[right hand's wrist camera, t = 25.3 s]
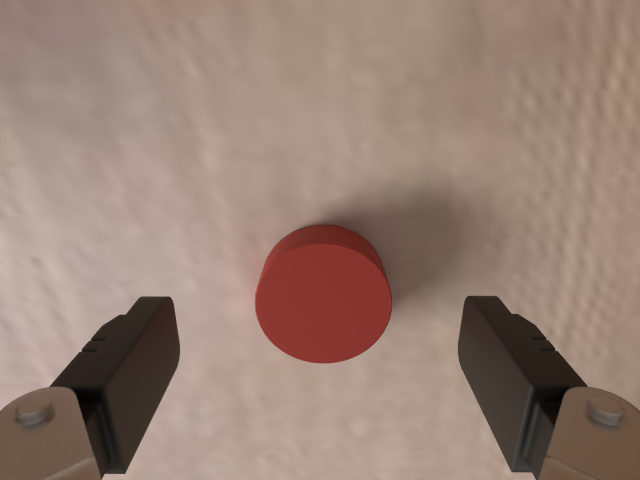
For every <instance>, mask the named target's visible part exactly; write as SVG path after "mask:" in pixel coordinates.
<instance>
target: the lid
mask: <svg viewBox="0 0 640 480" xmlns="http://www.w3.org/2000/svg"><path fill="white" fill-rule="evenodd" d="M255 311H256V315H257V319H258V322H259V324H260V327H261V328H262V330H263V332H264V333H265V335H266V336H267V337H268V339H269V340H270V341H271V342H272V343H273V344H274V345H275V346H276V347H278V348H279V349H280V350H282V351H283V352H285V353H286V354H288V355H290V356H292V357H295V358H297V359H300V360H303V361H308V362H313V363H334V362H340V361H344V360H347V359H350V358H353V357H355V356H357V355H359V354H361V353H363V352H364V351H366V350H367V349H369V348H370V347H371V346H372V345H373V344H374V343H375V342H376V341H377V340H378V339H379V338H380V336H381V335H382V334H383V332H384V331H385V329H386V327H387V325H388V322H389V319H390V316H391V311H392V296H391V291H390V287H389V283H388V280H387V277H386V274H385V270H384V267H383V264H382V262H381V259H380V257H379V255H378V254H377V252H376V251H375V249H374V248H373V247H372V246H371V245H370V244H369V243H368V242H367V241H366V240H365V239H364V238H362V237H361V236H360V235H358V234H356V233H354V232H352V231H350V230H348V229H345V228H342V227H337V226H331V225H316V226H309V227H305V228H302V229H299V230H297V231H294V232H293V233H291V234H289V235H287V236H286V237H285V238H283V239H282V240H281V241H280V242H279V243H278V244H277V245H276V246H275V247H274V248H273V250H272V251H271V252H270V254H269V256H268V258H267V260H266V262H265V265H264V268H263V271H262V274H261V277H260V280H259V283H258V286H257V290H256V294H255Z"/></svg>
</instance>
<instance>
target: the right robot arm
mask: <svg viewBox="0 0 640 480" xmlns="http://www.w3.org/2000/svg"><path fill="white" fill-rule="evenodd" d="M179 356H180V343H179V336H178V330H177V323H176V316H175V310H174V304H173V301H172V299H171V297H140V298H139V299H138V300H137V301H136V303H135V304H134V305H133V306H132V308H131V309H130V310H129V311H128V312H127V314H126V315H119V316H117V317H115V318H114V319H112V320H111V321H109V322H108V323H106V324H104V325H103V326H102V327H101V328H100V329H99V330H98V331H97V333H96V334H95V335H94V336H93V337H92V338H91V341H89V342H88V343H87V344H86V345H85V346H84V347H83V349H82V352H79V353H78V354H77V356H76V357H75V358H74V359H73V360H72V361H71V362H70V364H69V365H68V366H67V367H66V368H65V369H64V371H63V372H62V373H61V374H60V375H59V376H58V377H57V379H56V380H55V381H54V382H53V383H52V384H51V385H50V387H47V388H42V389H38V390H35V391H32V392H30V393H27V394H25V395H23V396H21V397H19V398H17V399H15V400H14V401H12V402H11V403H9V404H8V405H7V406H5V407H4V408H3V409H2V410H1V411H0V480H102V478H103V476H104V474H125V473H126V471H127V469H128V467H129V465H130V463H131V461H132V459H133V456H134V454H135V452H136V450H137V448H138V446H139V444H140V442H141V440H142V438H143V436H144V434H145V432H146V430H147V428H148V426H149V424H150V422H151V420H152V418H153V416H154V414H155V411H156V409H157V407H158V405H159V403H160V401H161V399H162V397H163V395H164V393H165V391H166V389H167V387H168V385H169V383H170V381H171V379H172V377H173V375H174V373H175V371H176V368H177V366H178V362H179ZM458 356H459V362H460V365H461V368H462V370H463V372H464V374H465V376H466V378H467V380H468V383H469V385H470V387H471V389H472V391H473V393H474V395H475V397H476V399H477V401H478V403H479V405H480V407H481V409H482V411H483V414H484V416H485V418H486V420H487V422H488V424H489V426H490V428H491V430H492V432H493V434H494V436H495V438H496V440H497V443H498V445H499V447H500V449H501V451H502V453H503V455H504V457H505V459H506V461H507V463H508V465H509V467H510V469H511V472H532V473H533V475H534V477H535V479H536V480H640V411H639V410H638V409H637V408H636V407H635V406H633V405H632V404H631V403H629V402H628V401H626V400H625V399H623V398H621V397H619V396H617V395H615V394H613V393H610V392H608V391H605V390H602V389H598V388H593V387H588V386H587V385H586V384H585V382H584V381H583V380H582V379H581V378H580V377H579V376H578V374H577V373H576V372H575V371H574V370H573V369H572V367H571V366H570V365H569V364H568V363H567V362H566V360H565V359H564V358H563V357H562V356H561V355H560V353H559V352H558V351H555V348H554V346H553V345H552V344H551V343H550V342H549V341H548V340H546V337H545V336H544V335H543V334H542V333H541V331H540V330H539V329H538V328H537V327H536V326H535V325H534V324H533V323H531V322H530V321H528V320H526V319H525V318H523V317H522V316H520V315H518V314H511V312H510V311H509V310H508V309H507V307H506V306H505V305H504V304H503V302H502V301H501V300H500V299H499V298H498V297H497V296H468V297H467V298H466V299H465V302H464V308H463V315H462V321H461V328H460V335H459V342H458Z"/></svg>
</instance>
